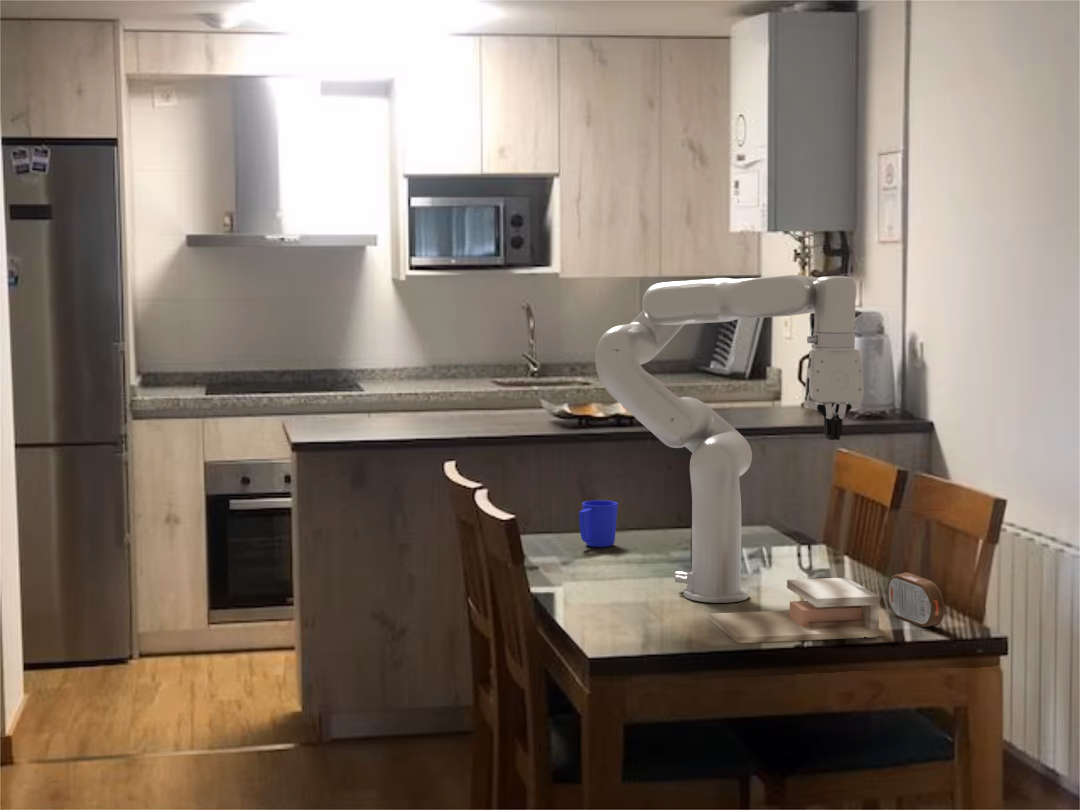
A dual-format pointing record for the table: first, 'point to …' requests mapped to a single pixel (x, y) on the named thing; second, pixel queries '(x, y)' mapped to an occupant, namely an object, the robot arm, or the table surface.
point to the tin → (915, 600)
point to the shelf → (785, 629)
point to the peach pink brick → (822, 613)
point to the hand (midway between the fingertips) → (832, 439)
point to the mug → (598, 522)
